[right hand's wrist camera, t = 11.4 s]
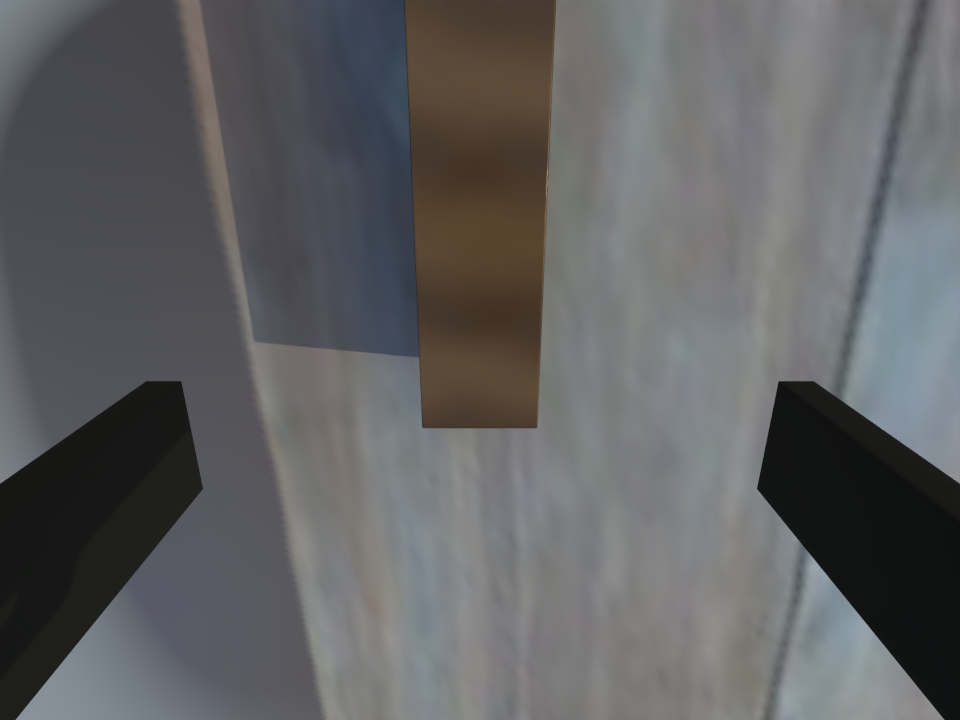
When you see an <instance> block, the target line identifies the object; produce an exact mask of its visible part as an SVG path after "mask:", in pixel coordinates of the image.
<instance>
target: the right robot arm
mask: <svg viewBox="0 0 960 720" xmlns="http://www.w3.org/2000/svg"><path fill="white" fill-rule="evenodd" d="M202 489H203V487H202V482H201V477H200V472H199V467H198V462H197V457H196V452H195V448H194V442H193V438H192V433H191V428H190V423H189V418H188V413H187V408H186V403H185V398H184V393H183V388H182V383H181V381H146V382H145V383H143V384H142V385H140V386H139V387H138V388H136V389H135V390H133V391H132V392H130V393H129V394H128V395H126V396H125V397H123V398H122V399H121V400H119V401H118V402H116V403H115V404H113V405H112V406H111V407H109V408H108V409H106V410H105V411H103V412H102V413H101V414H99V415H98V416H96V417H95V418H94V419H92V420H91V421H89V422H88V423H86V424H85V425H83V426H82V427H81V428H79V429H78V430H76V431H75V432H73V433H72V434H71V435H69V436H68V437H66V438H65V439H63V440H62V441H61V442H59V443H58V444H56V445H55V446H54V447H52V448H51V449H49V450H48V451H46V452H45V453H44V454H42V455H41V456H39V457H38V458H36V459H35V460H34V461H32V462H31V463H29V464H28V465H26V466H25V467H24V468H22V469H21V470H19V471H18V472H16V473H15V474H14V475H12V476H11V477H9V478H8V479H6V480H5V481H4V482H2V483H1V484H0V720H16V718H17V717H18V716H19V715H20V713H21V712H22V711H23V710H24V709H25V707H26V706H27V705H28V704H29V702H30V701H31V700H32V699H33V697H34V696H35V695H36V694H37V693H38V691H39V690H40V689H41V688H42V686H43V685H44V684H45V683H46V681H47V680H48V679H49V678H50V676H51V675H52V674H53V673H54V672H55V670H56V669H57V668H58V667H59V665H60V664H61V663H62V662H63V660H64V659H65V658H66V657H67V656H68V654H69V653H70V652H71V651H72V649H73V648H74V647H75V646H76V644H77V643H78V642H79V641H80V640H81V638H82V637H83V636H84V635H85V633H86V632H87V631H88V630H89V628H90V627H91V626H92V625H93V624H94V622H95V621H96V620H97V619H98V617H99V616H100V615H101V614H102V612H103V611H104V610H105V609H106V608H107V606H108V605H109V604H110V603H111V601H112V600H113V599H114V598H115V596H116V595H117V594H118V593H119V592H120V590H121V589H122V588H123V587H124V585H125V584H126V583H127V582H128V580H129V579H130V578H131V577H132V576H133V574H134V573H135V572H136V571H137V569H138V568H139V567H140V566H141V564H142V563H143V562H144V561H145V559H146V558H147V557H148V556H149V555H150V553H151V552H152V551H153V550H154V548H155V547H156V546H157V545H158V543H159V542H160V541H161V540H162V539H163V537H164V536H165V535H166V534H167V532H168V531H169V530H170V529H171V527H172V526H173V525H174V524H175V523H176V521H177V520H178V519H179V518H180V516H181V515H182V514H183V513H184V511H185V510H186V509H187V508H188V507H189V505H190V504H191V503H192V502H193V500H194V499H195V498H196V497H197V495H198V494H199V493H200V492H201V491H202ZM757 489H758V491H759V492H760V493H761V494H762V495H763V497H764V498H765V499H766V500H767V502H768V503H769V504H770V505H771V507H772V508H773V509H774V510H775V511H776V513H777V514H778V515H779V516H780V518H781V519H782V520H783V521H784V523H785V524H786V525H787V526H788V527H789V529H790V530H791V531H792V532H793V534H794V535H795V536H796V537H797V539H798V540H799V541H800V542H801V543H802V545H803V546H804V547H805V548H806V550H807V551H808V552H809V553H810V555H811V556H812V557H813V558H814V560H815V561H816V562H817V563H818V564H819V566H820V567H821V568H822V569H823V571H824V572H825V573H826V574H827V576H828V577H829V578H830V579H831V580H832V582H833V583H834V584H835V585H836V587H837V588H838V589H839V590H840V592H841V593H842V594H843V595H844V596H845V598H846V599H847V600H848V601H849V603H850V604H851V605H852V606H853V608H854V609H855V610H856V611H857V612H858V614H859V615H860V616H861V617H862V619H863V620H864V621H865V622H866V624H867V625H868V626H869V627H870V628H871V630H872V631H873V632H874V633H875V635H876V636H877V637H878V638H879V640H880V641H881V642H882V643H883V645H884V646H885V647H886V648H887V649H888V651H889V652H890V653H891V654H892V656H893V657H894V658H895V659H896V661H897V662H898V663H899V664H900V665H901V667H902V668H903V669H904V670H905V672H906V673H907V674H908V675H909V677H910V678H911V679H912V680H913V681H914V683H915V684H916V685H917V686H918V688H919V689H920V690H921V691H922V693H923V694H924V695H925V696H926V697H927V699H928V700H929V701H930V702H931V704H932V705H933V706H934V707H935V709H936V710H937V711H938V712H939V714H940V715H941V716H942V717H943V718H944V720H960V484H959V483H958V482H956V481H955V480H954V479H952V478H951V477H949V476H948V475H946V474H945V473H944V472H942V471H941V470H939V469H938V468H936V467H935V466H934V465H932V464H931V463H929V462H928V461H926V460H925V459H924V458H922V457H921V456H919V455H918V454H916V453H915V452H914V451H912V450H911V449H909V448H908V447H907V446H905V445H904V444H902V443H901V442H899V441H898V440H897V439H895V438H894V437H892V436H891V435H889V434H888V433H887V432H885V431H884V430H882V429H881V428H879V427H878V426H877V425H875V424H874V423H872V422H871V421H869V420H868V419H867V418H865V417H864V416H862V415H861V414H859V413H858V412H857V411H855V410H854V409H852V408H851V407H849V406H848V405H847V404H845V403H844V402H842V401H841V400H839V399H838V398H837V397H835V396H834V395H832V394H831V393H830V392H828V391H827V390H825V389H824V388H822V387H821V386H820V385H818V384H817V383H815V382H814V381H779V383H778V388H777V393H776V398H775V403H774V408H773V413H772V418H771V423H770V428H769V432H768V437H767V442H766V447H765V452H764V457H763V462H762V467H761V472H760V477H759V482H758V487H757Z"/></svg>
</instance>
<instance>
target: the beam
mask: <svg viewBox="0 0 960 720" xmlns="http://www.w3.org/2000/svg"><path fill="white" fill-rule="evenodd" d="M404 10H405V33H406V57H407V80H408V104H409V127H410V150H411V174H412V197H413V221H414V244H415V267H416V291H417V314H418V338H419V361H420V384H421V408H422V427H423V428H537V419H538V397H539V374H540V351H541V329H542V306H543V283H544V261H545V238H546V215H547V192H548V170H549V147H550V124H551V102H552V79H553V56H554V34H555V11H556V0H404Z"/></svg>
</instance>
